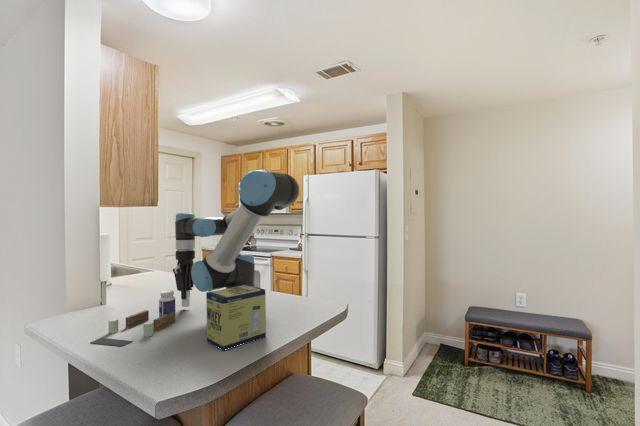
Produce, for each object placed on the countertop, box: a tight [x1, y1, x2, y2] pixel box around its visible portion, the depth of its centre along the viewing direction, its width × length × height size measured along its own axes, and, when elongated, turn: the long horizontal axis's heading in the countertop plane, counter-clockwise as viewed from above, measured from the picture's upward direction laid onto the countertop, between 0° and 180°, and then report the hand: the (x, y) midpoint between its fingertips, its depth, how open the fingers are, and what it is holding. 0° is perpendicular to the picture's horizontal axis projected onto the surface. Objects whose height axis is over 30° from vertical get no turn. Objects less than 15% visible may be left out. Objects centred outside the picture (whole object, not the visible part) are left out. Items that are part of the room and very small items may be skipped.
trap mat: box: [89, 337, 133, 348], centre depth 101 cm, size 12×4×1 cm, turn 76°
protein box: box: [205, 285, 267, 351], centre depth 103 cm, size 10×16×16 cm
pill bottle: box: [158, 290, 176, 318], centre depth 125 cm, size 6×6×10 cm
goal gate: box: [108, 318, 154, 338], centre depth 108 cm, size 16×2×4 cm, turn 76°
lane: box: [125, 310, 176, 331], centre depth 117 cm, size 13×9×4 cm
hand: (185, 306), depth 136 cm, fingers closed
